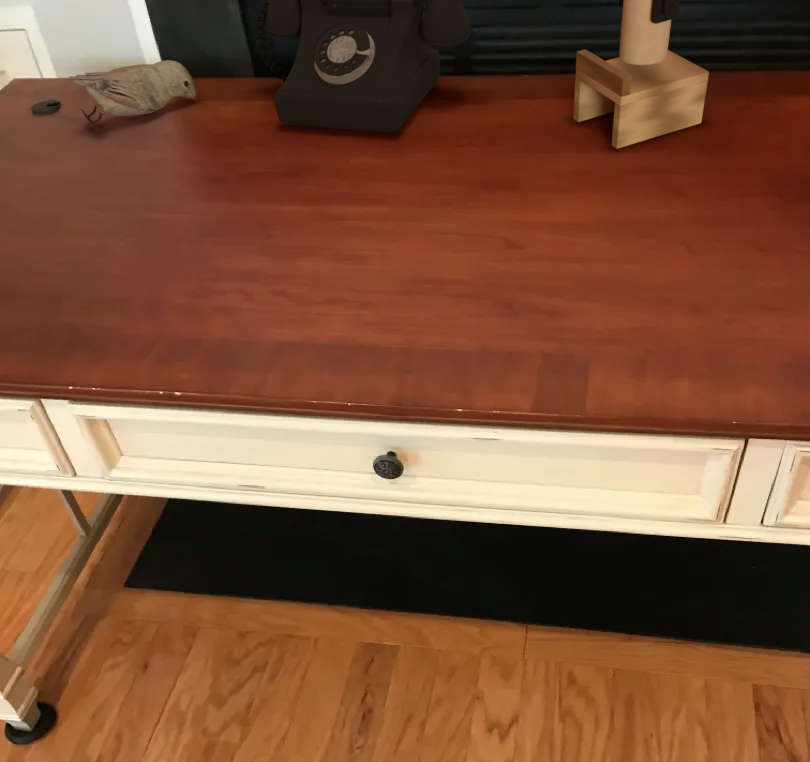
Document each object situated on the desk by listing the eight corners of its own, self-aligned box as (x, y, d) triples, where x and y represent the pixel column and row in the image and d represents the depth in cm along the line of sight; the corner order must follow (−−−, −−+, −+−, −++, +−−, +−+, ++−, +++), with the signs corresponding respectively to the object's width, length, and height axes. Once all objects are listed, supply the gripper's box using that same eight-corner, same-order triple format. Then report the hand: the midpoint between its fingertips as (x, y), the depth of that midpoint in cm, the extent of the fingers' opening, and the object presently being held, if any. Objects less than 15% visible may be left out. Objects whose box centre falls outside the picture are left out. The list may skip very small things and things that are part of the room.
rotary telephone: (481, 85, 123) (478, -40, 112) (440, 143, 112) (432, 11, 101) (283, 74, 132) (262, -43, 121) (228, 126, 121) (199, 3, 110)
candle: (656, 68, 103) (667, -31, 96) (611, 62, 106) (618, -35, 98) (673, 50, 106) (686, -47, 99) (629, 44, 108) (638, -51, 101)
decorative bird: (204, 106, 126) (189, 50, 121) (94, 140, 122) (74, 83, 117) (191, 94, 130) (176, 38, 124) (83, 127, 125) (63, 71, 120)
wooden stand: (654, 95, 116) (661, 27, 110) (701, 123, 110) (712, 53, 104) (573, 118, 114) (576, 51, 108) (616, 149, 107) (622, 79, 101)
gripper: (755, -183, 84) (722, 26, 98) (650, -207, 95) (633, -15, 109) (688, -168, 83) (663, 43, 96) (589, -194, 94) (579, -1, 107)
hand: (647, 10), depth 102 cm, fingers closed on candle, 5 cm apart
